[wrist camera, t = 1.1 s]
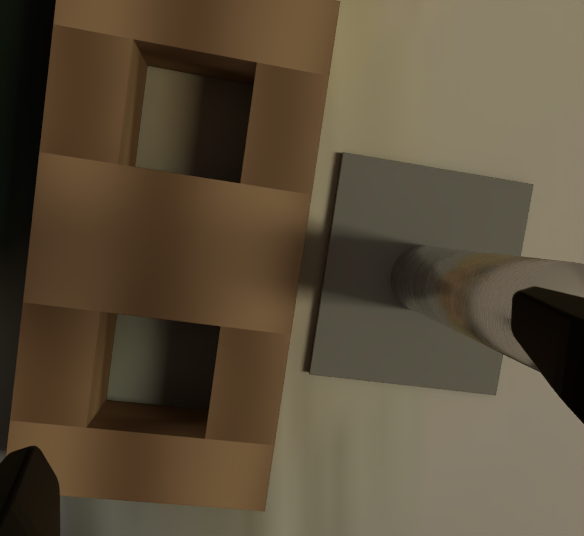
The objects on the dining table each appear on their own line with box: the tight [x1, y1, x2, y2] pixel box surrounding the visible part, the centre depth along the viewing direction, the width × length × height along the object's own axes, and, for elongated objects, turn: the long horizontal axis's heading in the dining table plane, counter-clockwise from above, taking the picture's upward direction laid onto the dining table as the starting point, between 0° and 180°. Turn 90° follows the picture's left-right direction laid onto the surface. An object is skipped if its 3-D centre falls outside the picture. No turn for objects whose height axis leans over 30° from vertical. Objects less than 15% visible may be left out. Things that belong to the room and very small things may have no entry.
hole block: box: [6, 0, 340, 511], centre depth 20 cm, size 10×20×3 cm, turn 172°
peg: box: [391, 246, 584, 372], centre depth 18 cm, size 3×3×10 cm
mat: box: [309, 152, 533, 395], centre depth 23 cm, size 9×10×1 cm
